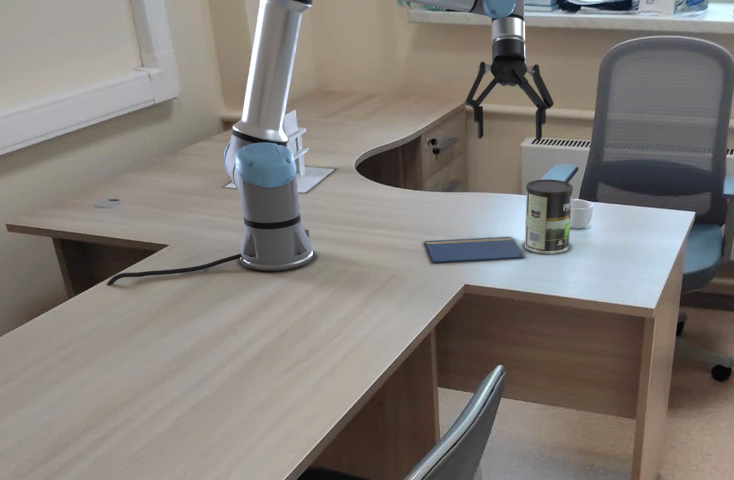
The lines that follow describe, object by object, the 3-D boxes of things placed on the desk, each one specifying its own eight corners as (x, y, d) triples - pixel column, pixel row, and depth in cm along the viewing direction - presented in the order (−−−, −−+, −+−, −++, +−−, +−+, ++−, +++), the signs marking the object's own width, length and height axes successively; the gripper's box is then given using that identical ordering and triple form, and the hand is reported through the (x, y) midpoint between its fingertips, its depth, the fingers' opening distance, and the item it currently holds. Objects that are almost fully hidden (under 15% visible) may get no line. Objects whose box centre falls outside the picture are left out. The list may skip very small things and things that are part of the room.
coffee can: (571, 240, 196) (575, 180, 189) (565, 256, 188) (569, 194, 180) (528, 236, 198) (530, 177, 191) (520, 252, 189) (522, 190, 182)
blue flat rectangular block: (433, 263, 182) (433, 261, 182) (425, 242, 193) (425, 240, 193) (523, 258, 186) (523, 256, 186) (510, 238, 197) (510, 236, 197)
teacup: (592, 231, 202) (594, 209, 200) (560, 230, 202) (562, 208, 200) (589, 218, 211) (591, 197, 208) (559, 217, 211) (560, 196, 208)
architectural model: (335, 169, 244) (329, 104, 235) (305, 192, 223) (298, 123, 214) (260, 164, 247) (252, 100, 238) (224, 187, 226) (214, 118, 217)
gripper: (557, 51, 197) (558, 143, 198) (451, 46, 192) (453, 140, 194) (565, 39, 190) (567, 135, 191) (456, 34, 185) (458, 132, 186)
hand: (510, 138), depth 192 cm, fingers open, 13 cm apart
